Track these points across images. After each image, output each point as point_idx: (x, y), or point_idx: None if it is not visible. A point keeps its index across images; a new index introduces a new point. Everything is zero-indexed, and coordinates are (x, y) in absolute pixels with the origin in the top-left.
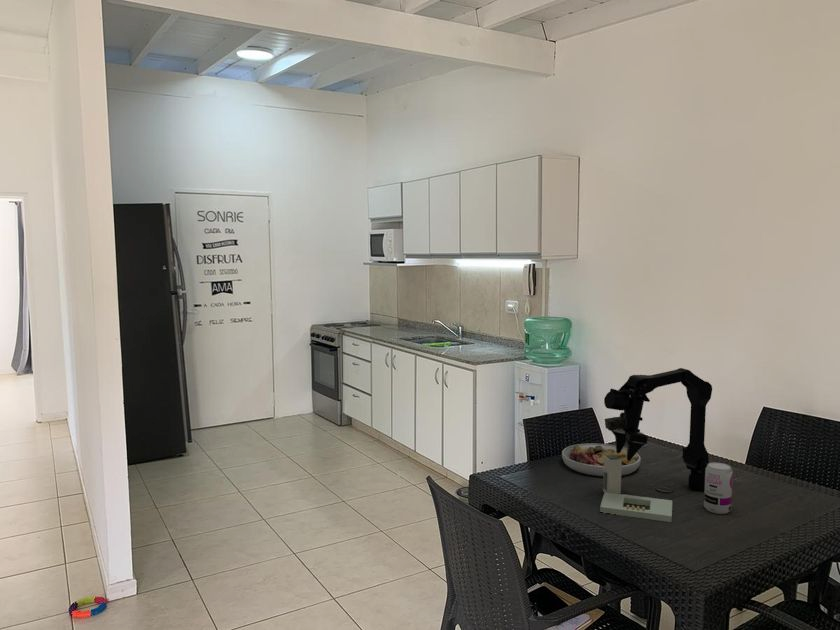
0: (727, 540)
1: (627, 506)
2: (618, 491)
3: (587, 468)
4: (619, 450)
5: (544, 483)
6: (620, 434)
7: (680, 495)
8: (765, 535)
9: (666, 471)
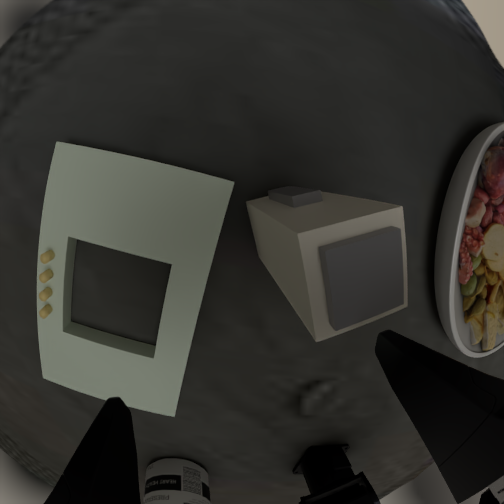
0: (18, 426)
1: (42, 255)
2: (260, 252)
3: (462, 171)
4: (388, 364)
5: (364, 4)
6: (499, 464)
7: (272, 430)
8: None
9: None
